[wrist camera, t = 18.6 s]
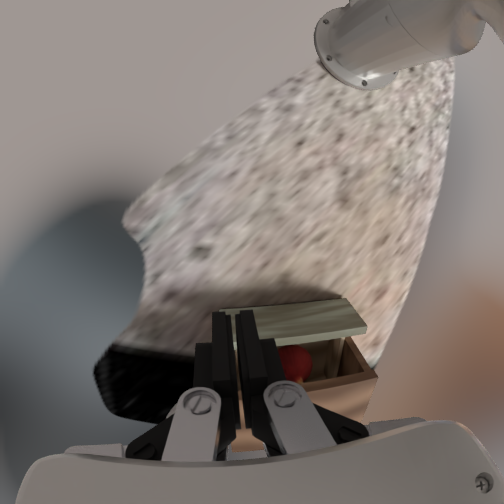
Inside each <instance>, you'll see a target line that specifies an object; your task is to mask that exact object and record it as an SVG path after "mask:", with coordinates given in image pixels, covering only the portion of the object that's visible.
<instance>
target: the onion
mask: <svg viewBox="0 0 504 504" xmlns="http://www.w3.org/2000/svg"><path fill="white" fill-rule="evenodd" d="M278 353H279V356H280V359H281V363H282V366H283V370H284V373H285V376H286V380H287V381H292V382H295V383H297V384H301V383H304V381H305V380H306V379H307V378H308V377H309V376H310V374H311V371H312V367H313V364H312V358H311V355H310V354H309V352H308V351H307V350H306V349H305V348H303V347H300V346H298V345H285V346H283V347H281V348H279V349H278Z"/></svg>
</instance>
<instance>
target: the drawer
mask: <svg viewBox="0 0 504 504" xmlns="http://www.w3.org/2000/svg"><path fill="white" fill-rule="evenodd" d="M251 309H253V313H254V317H255V322H256V327H257V331H258V336H259V339H268V338H274V339H275V342H276V346H277V349H279V348H281V347H283V346H285V345H298V346H300V347H303V348H305V349H306V350H307V351H308V352H309V354H310V355H311V358H312V364H313V367H312V371H311V374H310V376H309V377H308V378H307V379H306V380H305V381H304V383H308V382H314V381H320V380H326V379H331V378H336V377H337V373H338V368H339V364H340V359H341V355H342V350H343V345H344V340H345V337H349V336H355V335H360V334H366V331H367V325H366V323H365V322H364V321H363V319H362V318H361V317H360V315H359V314H358V313H357V312H356V310H355V309H354V308H353V306H352V305H351V304H350V302H349V301H348V300H347V299H346V298H343V299H334V300H325V301H316V302H307V303H296V304H286V305H274V306H262V307H249V308H235V309H219V312H222V311H225V313H226V315H228V314H231V323H232V333H233V343H234V353H235V363H236V373H237V383H238V391H240V390H241V386H240V378H239V369H238V357H237V342H236V326H235V314H240V310H251Z"/></svg>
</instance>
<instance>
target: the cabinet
mask: <svg viewBox="0 0 504 504" xmlns="http://www.w3.org/2000/svg"><path fill="white" fill-rule="evenodd" d="M377 379H378V376H377V374H376V373H375V371H374V370H371V368H370V367H369V365H368V364H367V362H366V360H365V359H364V357H363V356H362V354H361V352H360V351H359V349H358V348H357V346H356V344H355V343H354V341H353V340H352V338H351V337H350V336H349V337H345V340H344V345H343V350H342V355H341V359H340V364H339V368H338V373H337V377H336V378H331V379H326V380H320V381H314V382H308V383H301V384H299V385H301V386H302V387H303V388H304V390H305V391H306V393H307V395H308V396H309V398H310V400H311V402H312V403H314V404H317V405H319V406H321V407H323V408H326V409H328V410H330V411H333V412H335V413H338V414H340V415H342V416H345V417H347V418H350V419H352V420H355V421H358V422H359V423H361V421H362V418H363V416H364V413H365V411H366V409H367V406H368V403H369V401H370V398H371V396H372V393H373V390H374V388H375V385H376V382H377ZM238 396H239V408H240V420H241V429H239V430H236V439H235V440H234V441H233V442H231V446H232V452H243V451H254V450H264V447H263V442H262V441H260V440H259V439H257V438H255V437H254V436H252V431H251V429H246V427H245V419H244V411H243V403H242V395H241V390H240V391H238Z"/></svg>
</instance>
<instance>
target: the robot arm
mask: <svg viewBox="0 0 504 504" xmlns="http://www.w3.org/2000/svg"><path fill="white" fill-rule="evenodd" d="M486 22H487V23H488V24H489V25H490V26H491V27H492V28H493V30H494V31H495V32H496V34H497V35H498V37H499V38H500V40H501V41H502V42H503V44H504V0H349V3H348V4H347V5H346V6H345V7H341V8H336V9H333V10H331V11H329V12H327V13H326V14H325V15H324V16H323V17H322V18H321V19H320V20H319V22H318V23H317V25H316V28H315V32H314V44H315V48H316V52H317V54H318V56H319V58H320V60H321V62H322V63H323V65H324V66H325V67H326V69H327V70H328V71H329V72H330V73H331V74H332V75H333V76H334V77H336V78H337V79H338V80H339V81H341V82H343V83H345V84H346V85H348V86H351V87H353V88H356V89H361V90H375V89H380V88H383V87H385V86H387V85H389V84H390V83H391V82H392V81H393V80H394V79H395V78H396V76H397V75H398V72H399V70H403V69H406V68H410V67H413V66H417V65H421V64H425V63H429V62H433V61H437V60H441V59H445V58H450V57H454V56H458V55H462V54H465V53H467V52H469V51H471V50H472V49H473V48H474V47H475V46H477V44H478V43H479V41H480V39H481V37H482V34H483V31H484V28H485V23H486ZM324 23H325V24H324ZM326 58H327V59H328V61H327V60H326ZM362 84H363V85H362ZM235 326H236V342H237V357H238V369H239V378H240V386H241V395H242V403H243V411H244V419H245V427H246V429H251V431H252V436H254V437H255V438H257V439H259V440H260V441H262V442H263V447H264V449H265V452H266V454H267V457H266V458H257V459H247V460H232V461H227V459H228V450H229V449H228V445H229V444H230V443H231V442H233V441H234V440H235V439H236V430H239V429H241V420H240V408H239V396H238V383H237V373H236V363H235V353H234V343H233V333H232V323H231V314H228V315H226V313H225V311H222V312H212V343H196V348H195V363H194V379H193V388H192V389H189V390H187V391H185V392H184V393H183V394H182V395H181V396H180V398H179V400H178V404H177V407H176V410H175V413H174V414H172V415H171V416H169V417H168V418H167V419H165V420H164V421H162V422H161V423H159V424H158V425H156V426H155V427H154V428H152V429H150V430H149V431H147V432H146V433H144V434H143V435H141V436H140V437H138V438H136V439H135V440H133V441H132V442H131V443H130V444H129V445H126V446H122V445H121V443H120V444H107V445H86V446H72V447H70V448H68V449H67V450H66V451H65V452H64V453H63V454H56V455H50V456H46V457H43V458H41V459H39V460H37V461H36V462H34V463H33V464H32V466H31V467H30V468H29V470H28V471H27V473H26V475H25V477H24V479H23V481H22V484H21V487H20V489H19V492H18V495H17V499H16V502H15V504H504V478H503V476H502V474H501V473H500V471H499V469H498V467H497V465H496V464H495V462H494V461H493V459H492V458H491V456H490V455H489V453H488V452H487V450H486V449H485V448H484V446H483V445H482V443H481V442H480V441H479V440H478V439H477V437H476V436H475V435H474V434H473V433H472V432H471V431H470V430H469V429H468V428H467V427H465V426H464V425H462V424H460V423H458V422H455V421H448V420H439V421H426V420H425V419H422V418H419V417H411V418H404V419H398V420H397V419H396V420H388V421H379V422H370V423H369V425H363V424H361V423H359V422H358V421H355V420H352V419H350V418H347V417H345V416H342V415H340V414H338V413H335V412H333V411H330V410H328V409H326V408H323V407H321V406H319V405H317V404H314V403H312V402H311V400H310V398H309V396H308V395H307V393H306V391H305V390H304V388H303V387H302V386H301V385H299V384H297V383H295V382H292V381H287V380H286V376H285V373H284V370H283V366H282V363H281V359H280V356H279V353H278V349H277V346H276V342H275V339H274V338H268V339H259V336H258V331H257V327H256V322H255V317H254V313H253V309H251V310H240V314H235Z"/></svg>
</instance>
